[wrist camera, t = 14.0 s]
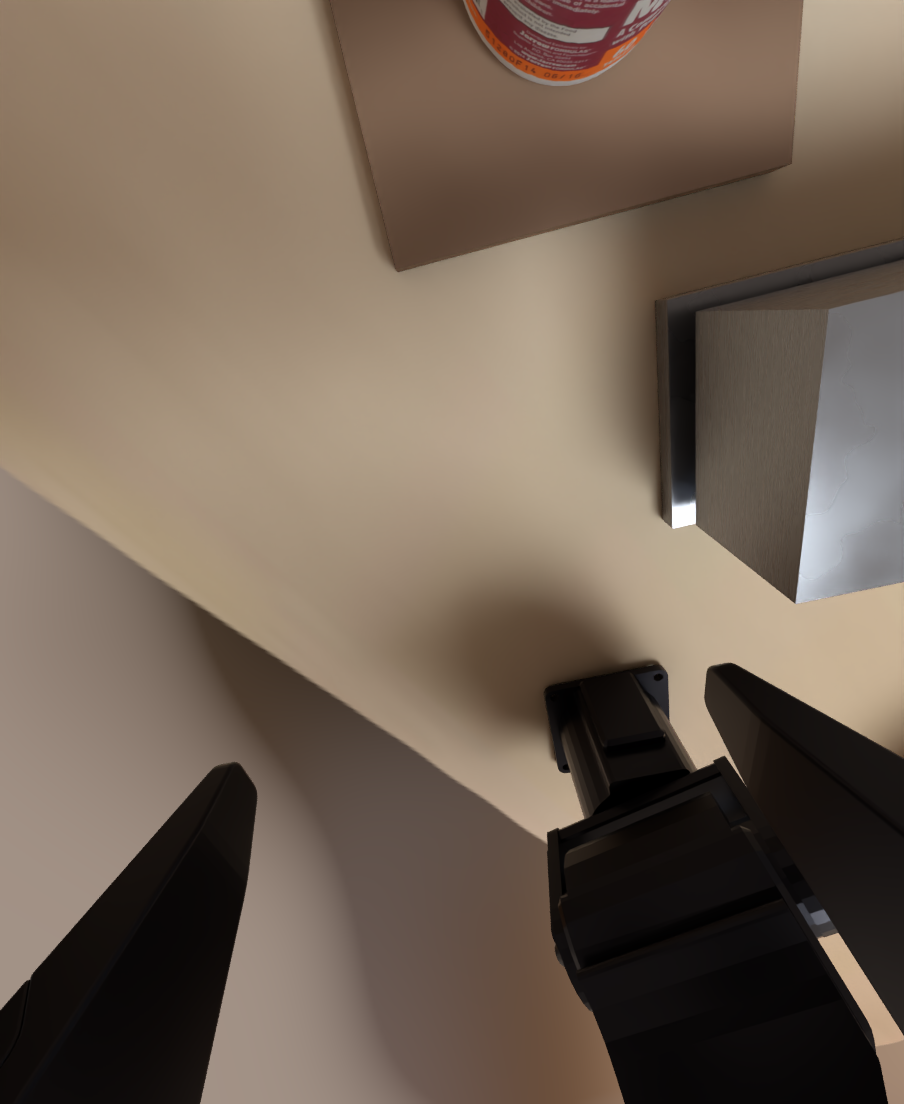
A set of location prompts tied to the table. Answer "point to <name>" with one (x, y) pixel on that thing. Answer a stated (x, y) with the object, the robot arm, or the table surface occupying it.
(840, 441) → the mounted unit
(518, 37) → the pill bottle
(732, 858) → the robot arm
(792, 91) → the plate
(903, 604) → the table surface
